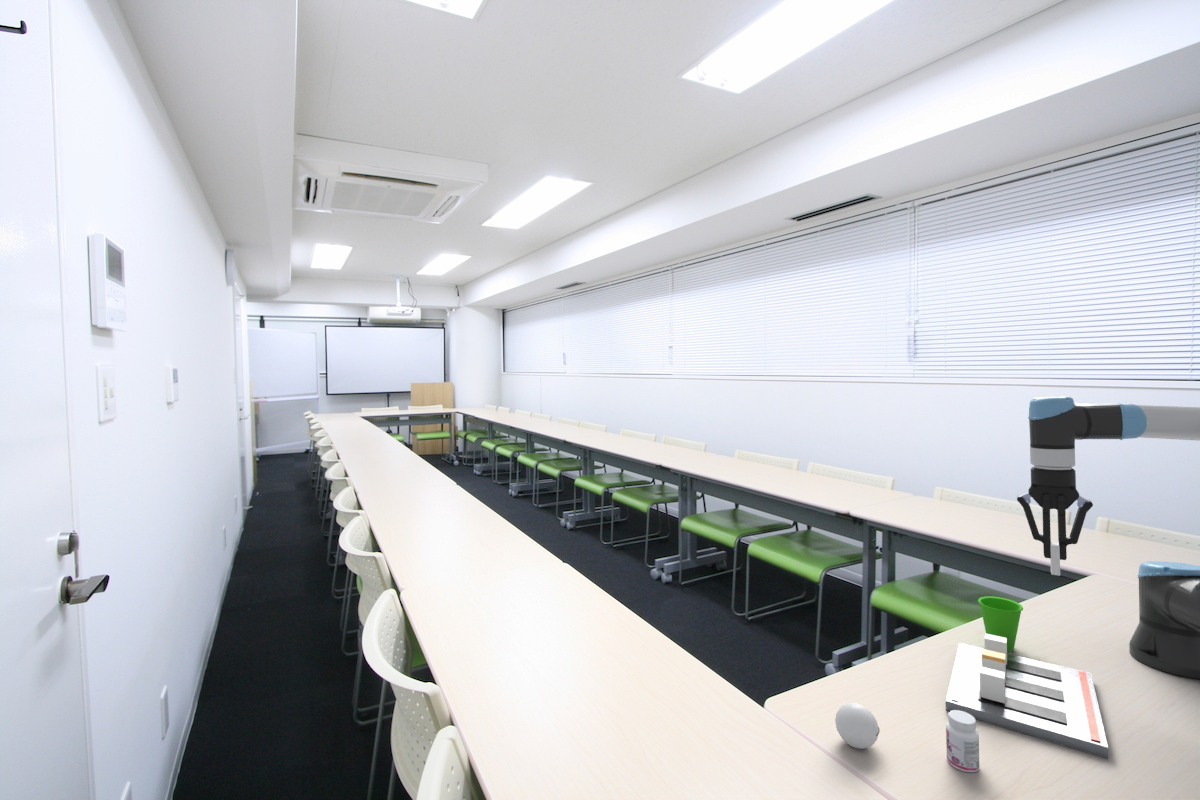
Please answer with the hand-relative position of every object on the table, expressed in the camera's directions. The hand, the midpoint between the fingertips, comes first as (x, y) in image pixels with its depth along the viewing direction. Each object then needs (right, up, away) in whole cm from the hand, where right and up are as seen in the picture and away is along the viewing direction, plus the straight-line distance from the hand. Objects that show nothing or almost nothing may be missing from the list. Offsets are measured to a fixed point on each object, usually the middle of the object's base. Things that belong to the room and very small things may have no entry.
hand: (1055, 573), depth 117 cm
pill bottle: (-37, -26, -24) cm, 51 cm away
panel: (-11, -24, -5) cm, 27 cm away
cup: (0, -24, +16) cm, 28 cm away
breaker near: (-21, -22, -9) cm, 32 cm away
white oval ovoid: (-52, -26, -17) cm, 61 cm away
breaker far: (-9, -22, +5) cm, 24 cm away
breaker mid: (-15, -22, -2) cm, 27 cm away
